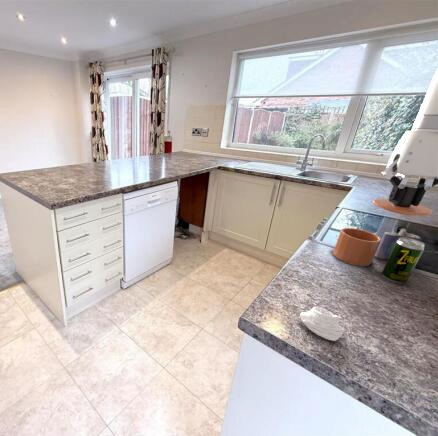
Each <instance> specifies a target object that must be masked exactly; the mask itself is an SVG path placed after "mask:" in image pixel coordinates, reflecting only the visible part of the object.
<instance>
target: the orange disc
mask: <svg viewBox="0 0 438 436" xmlns="http://www.w3.org/2000/svg"><path fill="white" fill-rule="evenodd" d="M404 189H406V192H405V194H404V196H403V199H402V201H401V203H400V204H399V205H397V204H394V203H392V202H390V201H389V198H376V199H374V200H373V202H372V204H373V205H374V206H376V207H378V208H380V209H383V210H385V211H388V212H389V213H390V212H391V213H395V214H399V215H405V216H421V217H424V216H426V217H427V216H431V215H432V214H433V210H432V209H431V208H428V207H426V206H424V205H420V204H419V205H418V206H413V205H411V204H412V202H413V200H414V198H415V195H416V193H417V191H418V189H419V187H417V186H416V185H413V184H406V185H405V187H404Z"/></svg>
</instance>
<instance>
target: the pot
mask: <svg viewBox="0 0 438 436" xmlns="http://www.w3.org/2000/svg"><path fill="white" fill-rule="evenodd" d="M381 240H382V237H380V236H379V235H377V234H376V233H373V232H370V231H367V230H364V229H359V228H353V227H343V228H341V229H340V232H339V234H338V238H337V240H336V243H335V246H334V249H333V256H334V257H335V258H336V259H338V260H340V261H342V262H344V263H346V264H350V265H354V266H358V267H369V266H370V265H371V264H372V263H373V261H374V258H375V257H374V256H375V254H376V251H377V249H378V247H379V244H380V242H381Z"/></svg>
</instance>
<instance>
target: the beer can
mask: <svg viewBox="0 0 438 436" xmlns="http://www.w3.org/2000/svg"><path fill="white" fill-rule="evenodd" d="M425 246H426V245H425V243H424V242H422V241H421V240H420V241H417V240H414V239H410V238H403V237H402V238H399V240H398V241H396V243H395V246H394V248H393V250H392V252H391V254H390V256H389V258H388V260H386V262H385V264H384V266H383V269H382V271H381V276H382V278H383V279H385V280H387V281H388V282H391V283H393V284H399V285H403V284H405V283H407V282H408V281H409V279H410V277H411V275H412V273H413V271H414V269H415V268H416V266H417V264H418V262H419V260H420V259H421V257H422V254H423V252H424V250H425Z"/></svg>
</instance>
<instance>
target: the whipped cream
mask: <svg viewBox="0 0 438 436" xmlns="http://www.w3.org/2000/svg"><path fill="white" fill-rule="evenodd" d="M299 317H300V319H301V321H302V323H303V324H304V325H305V327H307V328H308V330H310V332H312V333H314V334H315V335H317V336H319V337H321V338H323V339H325V340H328V341H332V342H336V341H337V340H339V339H340V338H341V337H342V336H343V334H344V333H345V332H346V329H345V328H344V327H342V325H341V319H342V316H339V315H338V314H337V315H335V314H334V313H333V312H331V311H330V310H327V309H325V308H323V307H320V306H314V307H312V308H311V309H310V310H308V311H302V312H300V313H299Z"/></svg>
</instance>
